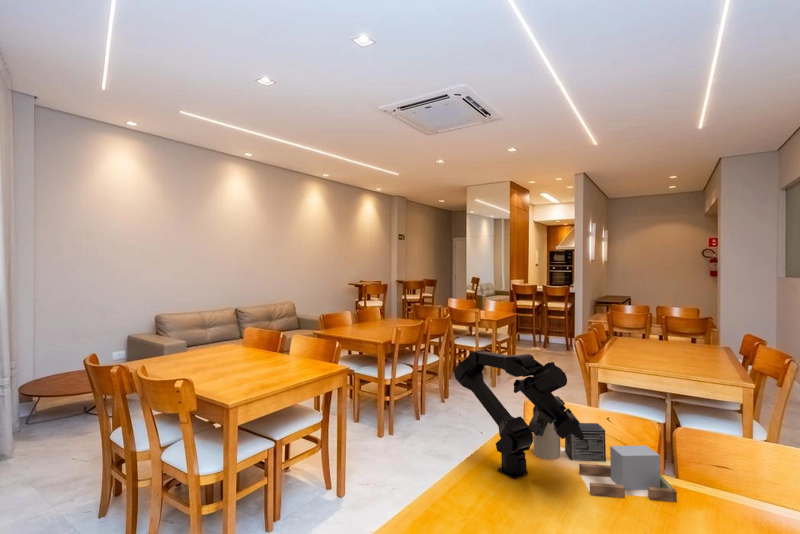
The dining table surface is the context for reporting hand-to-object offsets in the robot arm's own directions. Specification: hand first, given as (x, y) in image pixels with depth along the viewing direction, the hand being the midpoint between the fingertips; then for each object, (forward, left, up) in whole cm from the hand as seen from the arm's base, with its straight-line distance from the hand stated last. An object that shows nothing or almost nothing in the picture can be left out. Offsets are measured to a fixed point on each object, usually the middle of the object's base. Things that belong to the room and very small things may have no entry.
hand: (582, 438), depth 113 cm
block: (+9, +11, -12) cm, 18 cm away
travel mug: (-16, +7, -13) cm, 22 cm away
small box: (-8, +15, -13) cm, 22 cm away
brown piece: (+8, +7, -13) cm, 17 cm away
